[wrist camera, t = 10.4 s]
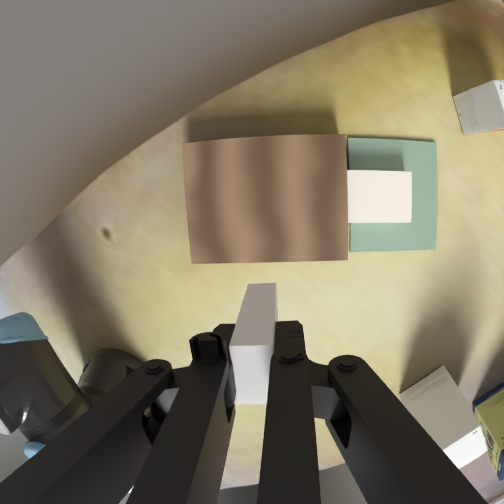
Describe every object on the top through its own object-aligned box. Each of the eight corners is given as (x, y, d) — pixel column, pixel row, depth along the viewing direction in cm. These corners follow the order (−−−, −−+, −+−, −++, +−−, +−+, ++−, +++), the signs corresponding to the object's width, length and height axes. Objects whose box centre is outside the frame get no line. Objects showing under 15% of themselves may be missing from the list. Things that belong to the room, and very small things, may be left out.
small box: (462, 135, 33) (507, 129, 23) (451, 95, 32) (492, 78, 21) (501, 130, 31) (546, 125, 21) (491, 93, 30) (534, 79, 20)
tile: (343, 219, 37) (347, 222, 35) (342, 170, 36) (346, 170, 33) (404, 219, 36) (411, 222, 34) (404, 171, 35) (411, 171, 32)
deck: (200, 255, 41) (191, 263, 37) (192, 146, 37) (182, 143, 34) (342, 251, 39) (347, 260, 35) (339, 138, 35) (345, 134, 31)
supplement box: (397, 393, 43) (422, 460, 29) (443, 363, 41) (482, 423, 26) (414, 421, 44) (437, 482, 30) (456, 393, 42) (489, 450, 28)
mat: (349, 251, 38) (350, 252, 38) (347, 138, 35) (347, 137, 35) (433, 248, 37) (435, 249, 37) (434, 142, 34) (435, 142, 33)
